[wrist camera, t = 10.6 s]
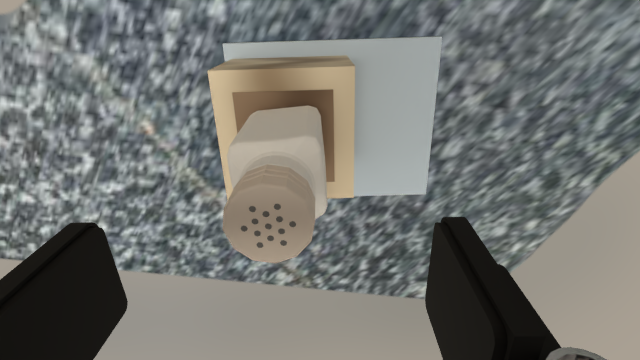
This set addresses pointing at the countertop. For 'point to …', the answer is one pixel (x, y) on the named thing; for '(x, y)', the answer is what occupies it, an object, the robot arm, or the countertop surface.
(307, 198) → the pepper shaker
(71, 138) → the countertop surface
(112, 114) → the countertop surface
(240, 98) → the plinth
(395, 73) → the pale grey rectangular plate
